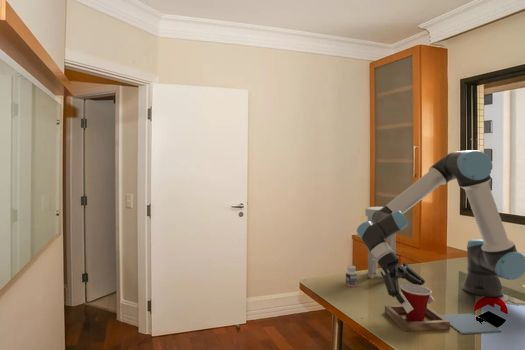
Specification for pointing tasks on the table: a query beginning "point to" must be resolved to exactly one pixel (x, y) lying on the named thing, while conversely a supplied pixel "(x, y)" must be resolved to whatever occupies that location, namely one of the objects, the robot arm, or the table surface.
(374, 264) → the stool
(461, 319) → the coaster
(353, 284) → the pill bottle
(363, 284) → the table surface
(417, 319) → the plastic cup
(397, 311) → the wooden frame
